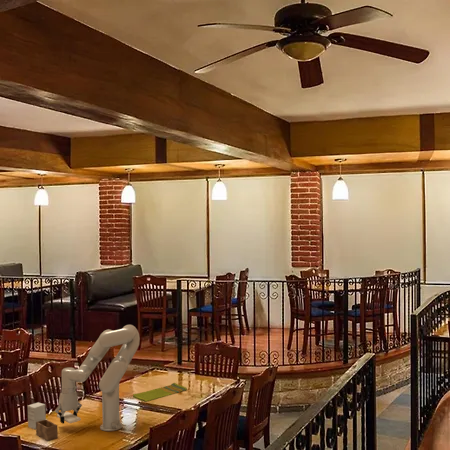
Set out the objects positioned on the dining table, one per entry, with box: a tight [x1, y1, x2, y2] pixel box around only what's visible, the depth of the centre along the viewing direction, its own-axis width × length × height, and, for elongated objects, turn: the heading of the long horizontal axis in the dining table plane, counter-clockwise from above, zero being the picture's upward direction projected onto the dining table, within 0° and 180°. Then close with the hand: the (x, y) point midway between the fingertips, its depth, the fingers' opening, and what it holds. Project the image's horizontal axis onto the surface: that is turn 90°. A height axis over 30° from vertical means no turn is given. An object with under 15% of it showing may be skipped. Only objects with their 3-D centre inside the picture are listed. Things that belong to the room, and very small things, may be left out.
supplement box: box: [27, 401, 47, 430], centre depth 326 cm, size 7×7×13 cm
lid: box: [56, 411, 82, 424], centre depth 319 cm, size 15×7×2 cm, turn 42°
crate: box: [35, 419, 59, 442], centre depth 310 cm, size 14×6×7 cm, turn 42°
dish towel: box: [132, 382, 188, 403], centre depth 384 cm, size 15×36×3 cm, turn 133°
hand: (68, 421), depth 319 cm, fingers closed on lid, 7 cm apart
